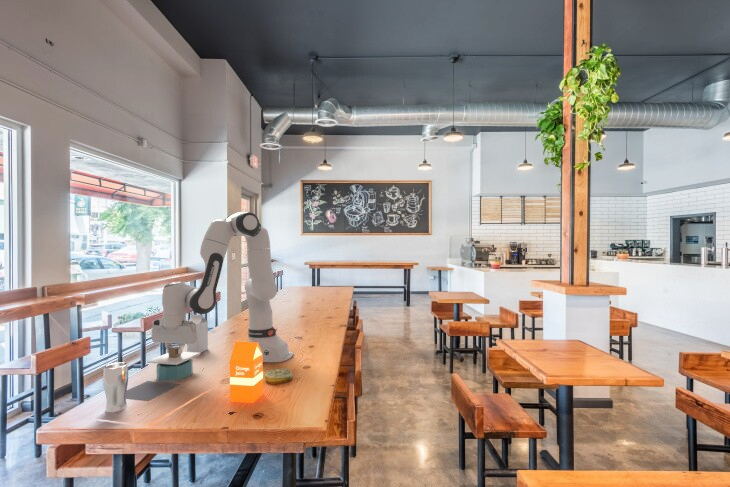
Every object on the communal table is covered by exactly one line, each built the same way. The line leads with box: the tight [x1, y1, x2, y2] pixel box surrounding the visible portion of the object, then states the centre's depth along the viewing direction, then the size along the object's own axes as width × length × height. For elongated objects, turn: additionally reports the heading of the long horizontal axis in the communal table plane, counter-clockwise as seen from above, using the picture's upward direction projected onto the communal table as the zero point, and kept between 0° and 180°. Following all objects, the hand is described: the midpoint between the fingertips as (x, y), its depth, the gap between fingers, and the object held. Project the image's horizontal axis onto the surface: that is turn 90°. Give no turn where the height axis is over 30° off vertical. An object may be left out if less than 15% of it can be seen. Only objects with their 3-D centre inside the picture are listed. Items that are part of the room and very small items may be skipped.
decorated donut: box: [264, 367, 293, 385], centre depth 148 cm, size 10×11×4 cm
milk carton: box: [186, 314, 209, 354], centre depth 190 cm, size 7×7×19 cm
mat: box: [126, 380, 182, 402], centre depth 138 cm, size 16×16×1 cm
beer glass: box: [102, 361, 129, 413], centre depth 123 cm, size 7×7×15 cm
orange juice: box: [229, 341, 264, 404], centre depth 131 cm, size 8×9×20 cm
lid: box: [146, 345, 201, 365], centre depth 154 cm, size 14×14×5 cm
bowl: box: [156, 358, 194, 382], centre depth 154 cm, size 13×13×6 cm
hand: (174, 353), depth 154 cm, fingers closed on lid, 3 cm apart
